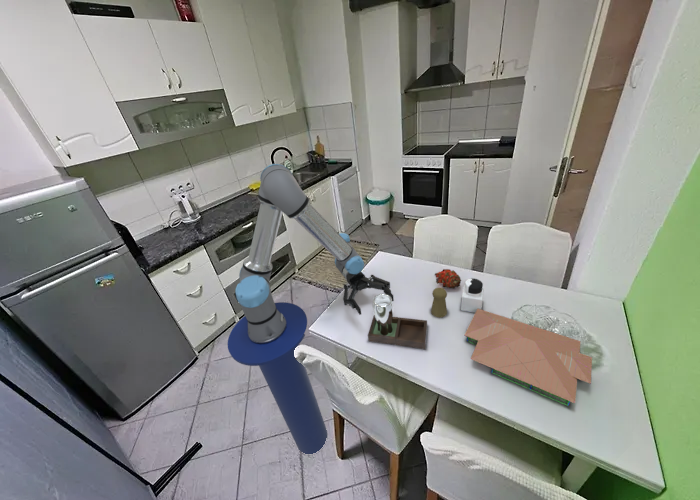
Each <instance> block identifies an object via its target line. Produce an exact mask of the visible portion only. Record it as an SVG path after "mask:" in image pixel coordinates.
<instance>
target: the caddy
mask: <svg viewBox="0 0 700 500" xmlns="http://www.w3.org/2000/svg"><path fill="white" fill-rule="evenodd" d="M392 326H393V329H394V331H393V334H392V335H390V336H385V335H379V334H378V332H377V327H378V325H377V321H376V318H375V315H374V314H373V317H372V321H371V323H370V326H369V330H368V333H367V340H368V342H372V343H379V344H386V345H393V346H399V347H407V348H412V349H413V348H414V349H419V350H420V349H422V350H426V346H427V345H426V344H427V332H428V320H426V319H416V318H407V317H400V316H399V317H398V316H393V319H392Z"/></svg>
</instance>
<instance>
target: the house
mask: <svg viewBox="0 0 700 500" xmlns="http://www.w3.org/2000/svg"><path fill="white" fill-rule="evenodd" d="M464 336H465V337H466V342H468V343H470V344H473V345H475V347H474V350H473V351H472V355H471V357H470V360H472V361H474V362H476V363H479V364H481V365H483V366H486V367H488V368H491V373H492V374H494V375H496V376H498V377H500V378H503V379H505V380H506V381H510V382H512V383H514V384H516V385H518V386H521V387H523V388H525V389H527V390H530V391H533V392H535V393H537V394H539V395H541V396H544V397H546V398H549V399H551V400H553V401H556V402H558V403H560V404H562V405H565V406H567V407H569V405H570V403H573V404H576V397H577V389H578V388H577V387H578V381H579V380H580V381H582V382H584V383H588V384H592V367H593V357H592V356H590V355H587V354H584V353H581V341H580V340H578V339H576V338H575V339H574V338H572V337H569V336H566V335H562V334H559V333H556V332H552V331H550V330H547V329H543V328H540V327H537V326H534V325H531V324H529V323H525V322H522V321H518V320H515V319H512V318H509V317H506V316H503V315H500V314H497V313H494V312H490V311H487V310H484V309H478V308H477V310H476V312H475V313H474V314H473V317H472V318H471V321H470V323H469V324H468V327H467V329H466V331H465V333H464ZM471 340H472V342H471ZM473 341H474V342H473ZM475 342H476V343H475ZM494 371H495V372H494ZM497 372H498V373H497ZM499 373H500V374H501V375H499ZM502 375H504V376H502ZM505 376H507V377H505ZM508 378H509V379H508ZM511 378H512V379H513V380H511ZM514 380H516V381H515V382H514ZM518 381H519V382H520V383H518ZM521 383H523V384H521ZM524 384H526V386H525V385H524ZM527 386H528V387H527ZM532 388H534V390H533V389H532ZM536 389H537V391H535V390H536ZM539 390H540V391H541V392H539ZM542 391H543V392H544V394H542ZM546 393H547V395H545V394H546ZM549 395H551V396H549ZM553 396H554V397H555V398H559V399H558V400H557V399H555V398H553ZM560 399H561V400H562V401H565V403H563V402H561V401H560ZM566 403H567V404H566Z"/></svg>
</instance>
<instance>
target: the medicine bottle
mask: <svg viewBox="0 0 700 500" xmlns="http://www.w3.org/2000/svg"><path fill="white" fill-rule="evenodd" d="M464 282H465V283H464V285H463V288H462V294H461V302H460V310H461V311H463V312H469V313H474V314H475V312H476V310H477V308H478V309H481V310H483V309H482V307H483V302H484V291H485V290H484V289H485V288H483V286H484V283H483V282H482V280H480V279H478V278H473V277H471V278H468V279H465V281H464Z"/></svg>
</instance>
